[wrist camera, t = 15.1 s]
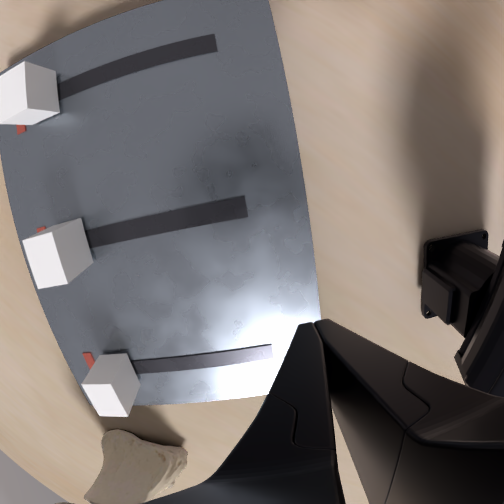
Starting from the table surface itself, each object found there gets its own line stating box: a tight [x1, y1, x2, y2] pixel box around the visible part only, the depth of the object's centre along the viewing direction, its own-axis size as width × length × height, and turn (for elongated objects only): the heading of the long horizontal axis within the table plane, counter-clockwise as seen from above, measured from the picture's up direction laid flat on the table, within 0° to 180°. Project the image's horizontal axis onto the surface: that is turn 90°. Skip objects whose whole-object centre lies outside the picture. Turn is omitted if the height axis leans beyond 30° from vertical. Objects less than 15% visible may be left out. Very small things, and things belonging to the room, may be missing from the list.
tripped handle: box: [0, 61, 60, 125], centre depth 14 cm, size 2×3×4 cm
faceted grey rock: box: [84, 429, 188, 504], centre depth 24 cm, size 9×8×10 cm
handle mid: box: [22, 218, 94, 289], centre depth 17 cm, size 2×3×4 cm
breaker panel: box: [0, 0, 321, 405], centre depth 20 cm, size 20×28×2 cm
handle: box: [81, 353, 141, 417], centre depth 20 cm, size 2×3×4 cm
